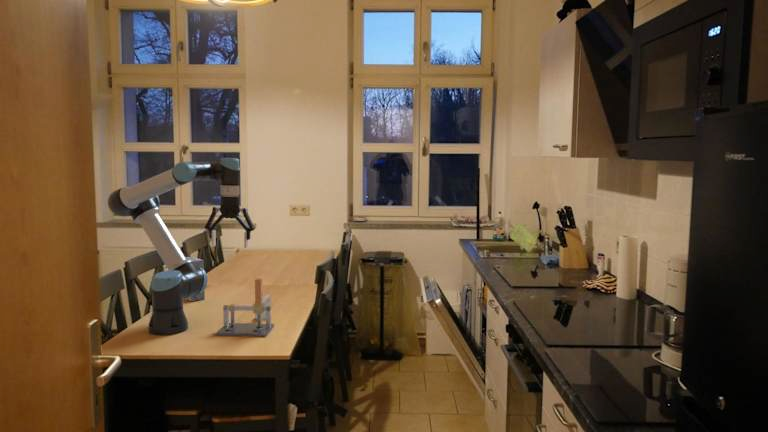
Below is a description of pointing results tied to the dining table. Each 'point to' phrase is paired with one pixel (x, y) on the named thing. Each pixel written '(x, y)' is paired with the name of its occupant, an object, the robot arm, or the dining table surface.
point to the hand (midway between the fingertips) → (229, 246)
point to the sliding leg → (258, 300)
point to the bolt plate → (245, 330)
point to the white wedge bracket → (267, 303)
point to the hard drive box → (200, 264)
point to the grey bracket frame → (244, 308)
